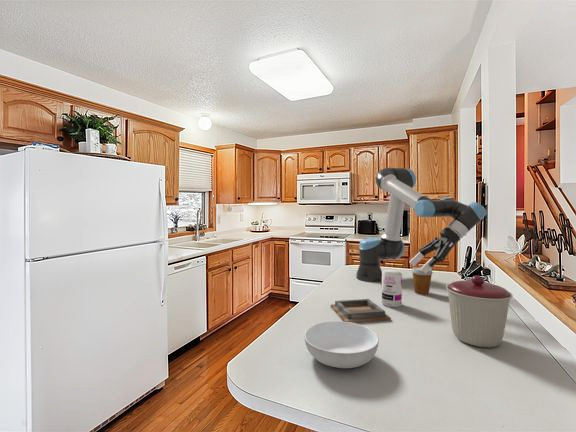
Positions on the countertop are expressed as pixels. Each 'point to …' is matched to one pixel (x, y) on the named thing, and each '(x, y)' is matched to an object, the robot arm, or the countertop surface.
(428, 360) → the countertop surface
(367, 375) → the countertop surface
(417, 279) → the disposable coffee cup
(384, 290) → the supplement can
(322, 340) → the serving bowl
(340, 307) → the jig plate
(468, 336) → the canister
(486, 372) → the countertop surface
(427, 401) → the countertop surface
